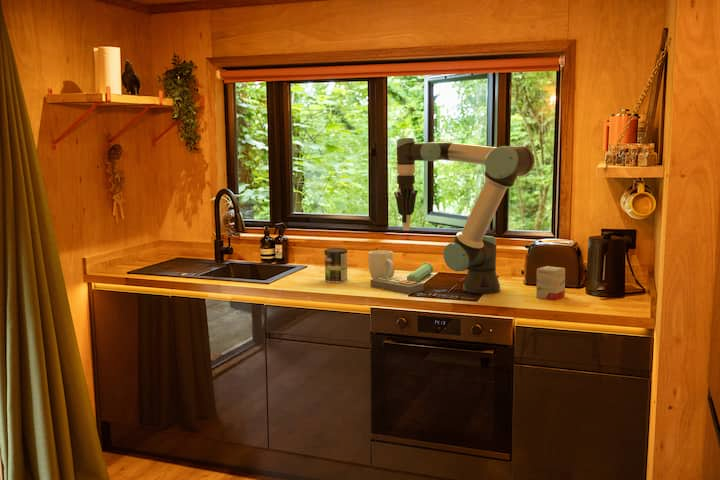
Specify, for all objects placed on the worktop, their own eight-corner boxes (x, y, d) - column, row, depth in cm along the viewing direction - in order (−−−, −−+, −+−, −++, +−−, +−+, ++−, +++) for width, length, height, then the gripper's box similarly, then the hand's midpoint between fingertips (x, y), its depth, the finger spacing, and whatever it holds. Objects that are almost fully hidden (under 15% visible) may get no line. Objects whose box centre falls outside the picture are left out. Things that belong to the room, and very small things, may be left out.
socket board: (423, 290, 301) (423, 283, 300) (409, 294, 295) (409, 286, 294) (384, 283, 316) (384, 276, 316) (370, 286, 310) (370, 279, 309)
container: (414, 271, 312) (430, 260, 334) (402, 275, 314) (419, 264, 337) (419, 284, 312) (435, 272, 334) (407, 288, 314) (423, 276, 337)
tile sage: (393, 285, 310) (393, 277, 309) (385, 287, 306) (385, 279, 306) (384, 284, 313) (384, 276, 313) (377, 286, 310) (377, 278, 309)
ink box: (565, 296, 286) (566, 267, 284) (555, 300, 279) (556, 270, 278) (545, 293, 291) (546, 264, 290) (535, 297, 285) (535, 268, 283)
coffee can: (330, 284, 317) (330, 252, 315) (321, 280, 326) (320, 249, 324) (351, 281, 322) (351, 250, 320) (341, 277, 331) (341, 247, 329)
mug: (403, 282, 317) (403, 253, 315) (383, 285, 311) (382, 255, 309) (384, 277, 329) (383, 249, 327) (364, 280, 323) (363, 251, 321)
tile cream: (405, 287, 305) (405, 279, 305) (397, 289, 302) (397, 281, 301) (396, 286, 309) (396, 278, 308) (388, 288, 305) (388, 280, 305)
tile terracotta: (416, 290, 301) (416, 281, 300) (409, 292, 297) (409, 283, 297) (407, 288, 304) (407, 280, 304) (400, 290, 301) (399, 282, 300)
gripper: (409, 173, 310) (409, 227, 314) (388, 175, 301) (389, 231, 304) (422, 174, 305) (422, 229, 308) (402, 175, 296) (403, 232, 299)
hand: (406, 230), depth 306 cm, fingers closed
